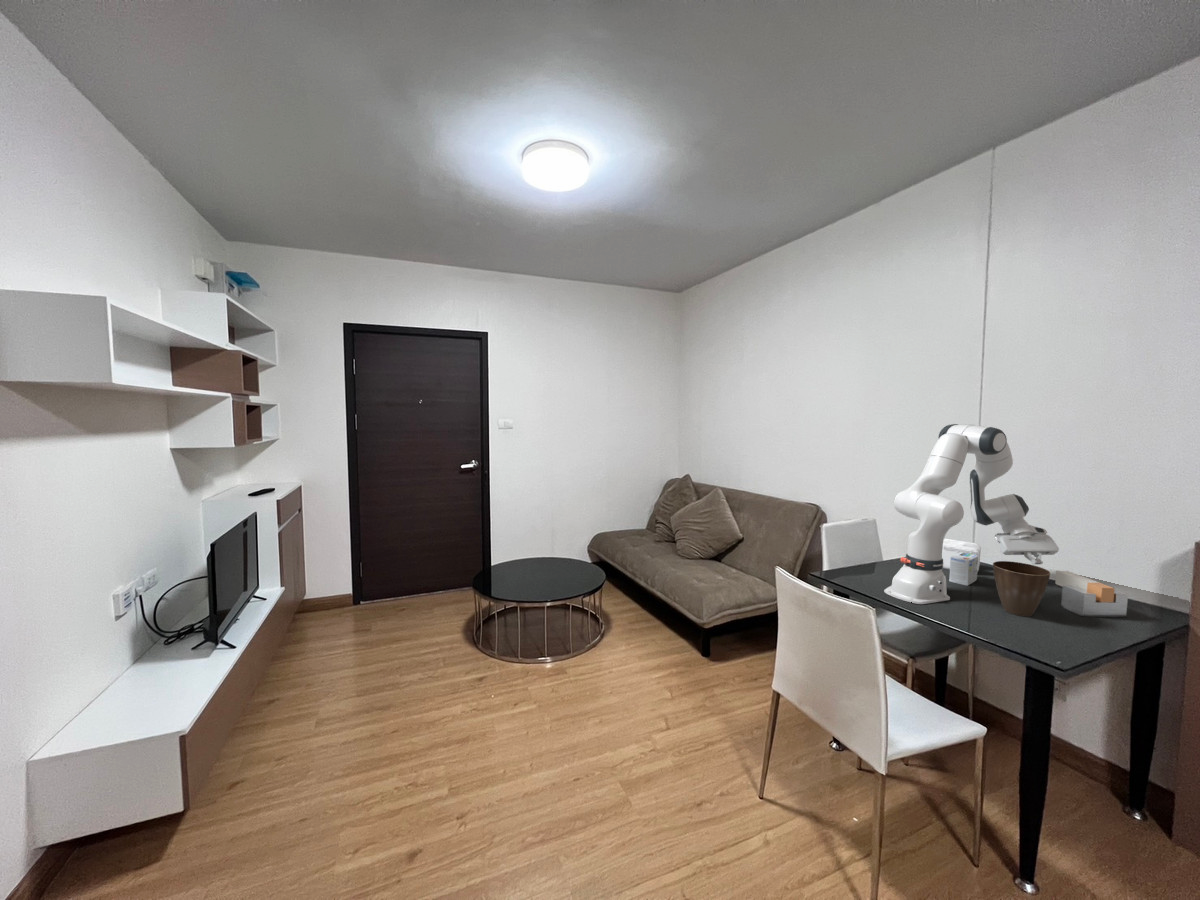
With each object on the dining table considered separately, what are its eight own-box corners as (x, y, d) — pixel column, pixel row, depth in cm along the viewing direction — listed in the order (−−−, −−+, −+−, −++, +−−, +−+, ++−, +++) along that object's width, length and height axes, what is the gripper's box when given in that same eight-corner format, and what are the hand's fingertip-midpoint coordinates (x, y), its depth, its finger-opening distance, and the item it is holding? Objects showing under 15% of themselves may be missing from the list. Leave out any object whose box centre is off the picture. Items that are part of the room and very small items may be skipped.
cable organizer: (981, 570, 207) (983, 544, 206) (977, 575, 200) (979, 549, 199) (940, 562, 218) (942, 537, 217) (935, 567, 211) (936, 542, 210)
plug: (1055, 583, 176) (1056, 570, 176) (1066, 583, 176) (1067, 570, 175) (1100, 602, 159) (1102, 588, 159) (1113, 602, 159) (1114, 588, 158)
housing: (1061, 606, 168) (1062, 585, 168) (1102, 607, 168) (1104, 585, 167) (1082, 616, 160) (1084, 593, 160) (1126, 617, 160) (1128, 594, 159)
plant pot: (988, 600, 175) (990, 558, 173) (1042, 609, 166) (1045, 565, 165) (992, 614, 162) (995, 569, 161) (1051, 625, 154) (1055, 578, 153)
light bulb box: (958, 575, 200) (959, 551, 199) (977, 580, 195) (979, 555, 194) (948, 581, 194) (949, 556, 193) (968, 586, 188) (969, 560, 187)
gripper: (997, 529, 193) (1015, 560, 184) (1049, 529, 192) (1070, 560, 183) (988, 537, 198) (1005, 567, 189) (1039, 536, 197) (1059, 567, 188)
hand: (1038, 563), depth 186 cm, fingers closed
